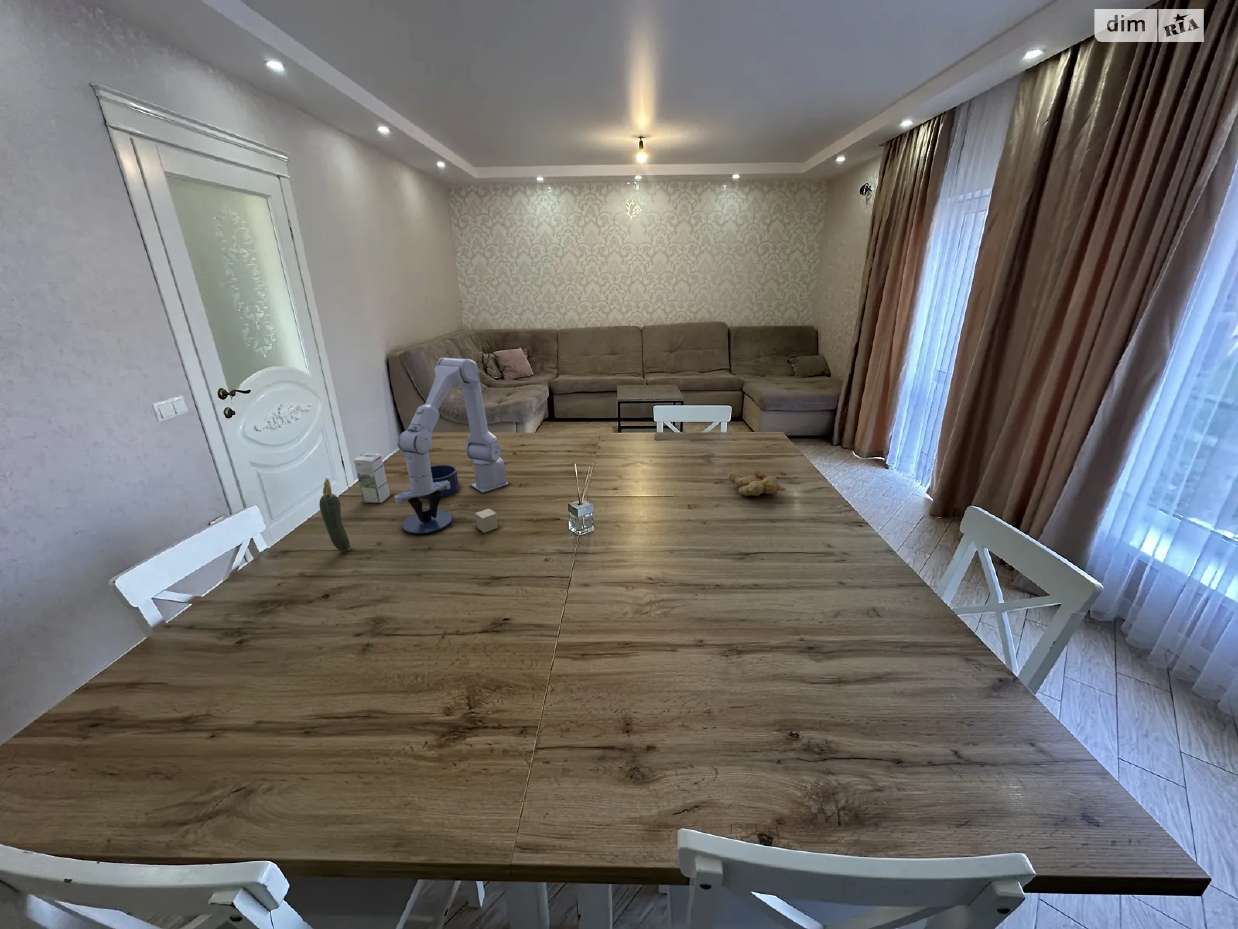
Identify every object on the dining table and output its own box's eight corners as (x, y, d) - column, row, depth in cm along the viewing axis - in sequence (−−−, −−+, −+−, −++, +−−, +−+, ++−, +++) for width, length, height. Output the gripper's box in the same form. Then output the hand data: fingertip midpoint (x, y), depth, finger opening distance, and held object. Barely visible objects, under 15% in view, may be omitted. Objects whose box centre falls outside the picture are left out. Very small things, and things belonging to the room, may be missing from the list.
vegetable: (343, 558, 119) (324, 484, 112) (328, 556, 120) (308, 483, 113) (355, 548, 123) (338, 477, 116) (340, 547, 124) (322, 475, 117)
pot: (448, 479, 164) (446, 461, 162) (465, 490, 156) (463, 472, 154) (413, 490, 157) (409, 471, 154) (428, 502, 148) (425, 482, 146)
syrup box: (390, 495, 153) (382, 452, 147) (380, 504, 147) (370, 459, 142) (373, 495, 153) (364, 452, 148) (362, 503, 148) (352, 459, 142)
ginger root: (791, 500, 145) (787, 475, 142) (738, 511, 147) (734, 487, 144) (776, 480, 160) (773, 458, 157) (729, 491, 161) (724, 469, 159)
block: (490, 522, 136) (488, 508, 134) (498, 527, 133) (496, 513, 132) (476, 527, 133) (474, 513, 132) (484, 533, 131) (482, 518, 129)
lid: (442, 508, 144) (440, 494, 142) (460, 525, 135) (458, 510, 133) (396, 522, 136) (393, 508, 134) (412, 541, 127) (409, 525, 125)
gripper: (439, 462, 137) (446, 505, 142) (386, 477, 127) (395, 522, 133) (450, 469, 132) (457, 513, 137) (396, 484, 123) (405, 531, 128)
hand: (427, 518), depth 134 cm, fingers open, 3 cm apart
